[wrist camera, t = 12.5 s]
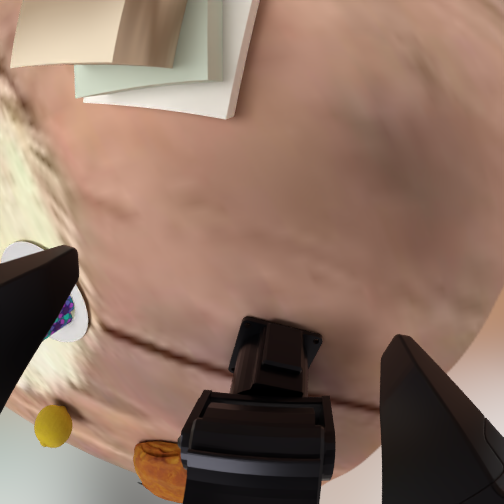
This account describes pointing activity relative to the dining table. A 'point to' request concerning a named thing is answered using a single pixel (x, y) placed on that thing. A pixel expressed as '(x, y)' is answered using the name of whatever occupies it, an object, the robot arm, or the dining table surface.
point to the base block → (202, 94)
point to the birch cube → (98, 32)
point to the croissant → (161, 469)
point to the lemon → (53, 426)
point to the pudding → (80, 320)
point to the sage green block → (185, 62)
